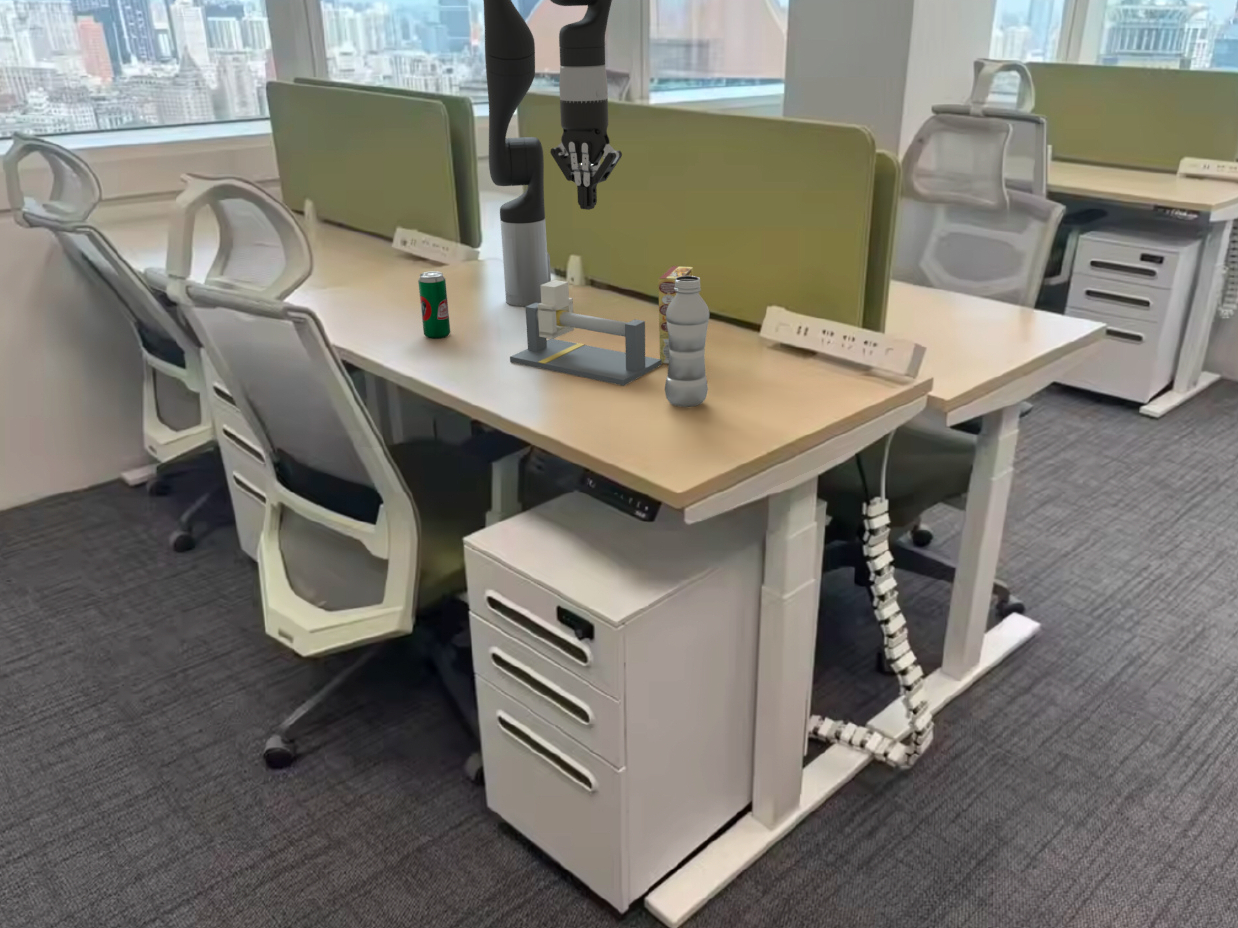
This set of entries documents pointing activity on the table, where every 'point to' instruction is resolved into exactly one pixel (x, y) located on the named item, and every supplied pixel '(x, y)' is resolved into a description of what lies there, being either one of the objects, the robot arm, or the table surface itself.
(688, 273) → the candy box
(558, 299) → the collar
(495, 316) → the table surface
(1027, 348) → the table surface
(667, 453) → the table surface
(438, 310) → the soda can
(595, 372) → the rail stand
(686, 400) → the plastic bottle
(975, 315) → the table surface
